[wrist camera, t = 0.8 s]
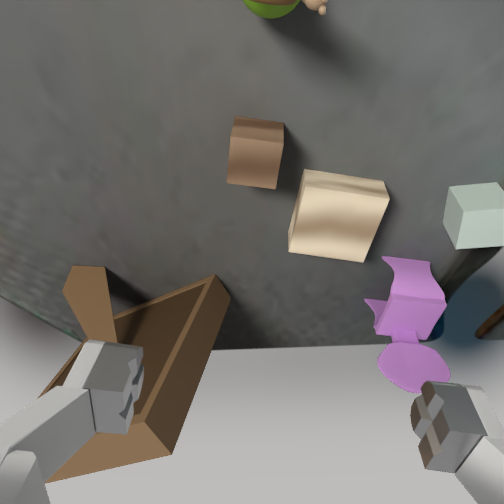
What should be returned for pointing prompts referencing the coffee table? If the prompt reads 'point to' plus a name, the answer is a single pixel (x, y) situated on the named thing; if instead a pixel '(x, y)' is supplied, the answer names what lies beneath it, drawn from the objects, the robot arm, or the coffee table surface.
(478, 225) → the grey-green cube
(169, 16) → the coffee table surface
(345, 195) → the beech block
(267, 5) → the snail figurine
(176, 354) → the photo frame
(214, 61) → the coffee table surface
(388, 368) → the toy chair
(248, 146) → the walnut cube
